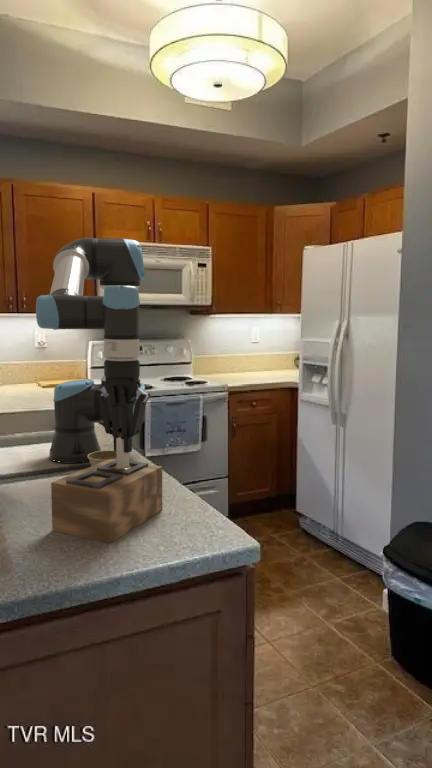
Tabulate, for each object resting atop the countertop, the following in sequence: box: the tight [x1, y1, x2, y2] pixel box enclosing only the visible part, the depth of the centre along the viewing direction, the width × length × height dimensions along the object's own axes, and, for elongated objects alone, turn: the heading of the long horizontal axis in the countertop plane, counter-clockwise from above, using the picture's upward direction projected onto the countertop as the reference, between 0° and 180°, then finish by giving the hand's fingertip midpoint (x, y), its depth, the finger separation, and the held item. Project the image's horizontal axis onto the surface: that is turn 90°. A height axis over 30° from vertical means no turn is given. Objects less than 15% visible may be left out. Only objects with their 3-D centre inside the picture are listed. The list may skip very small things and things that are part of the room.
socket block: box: [50, 459, 163, 544], centre depth 116 cm, size 20×14×11 cm
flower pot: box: [87, 449, 117, 467], centre depth 137 cm, size 9×9×9 cm
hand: (123, 466), depth 120 cm, fingers closed
